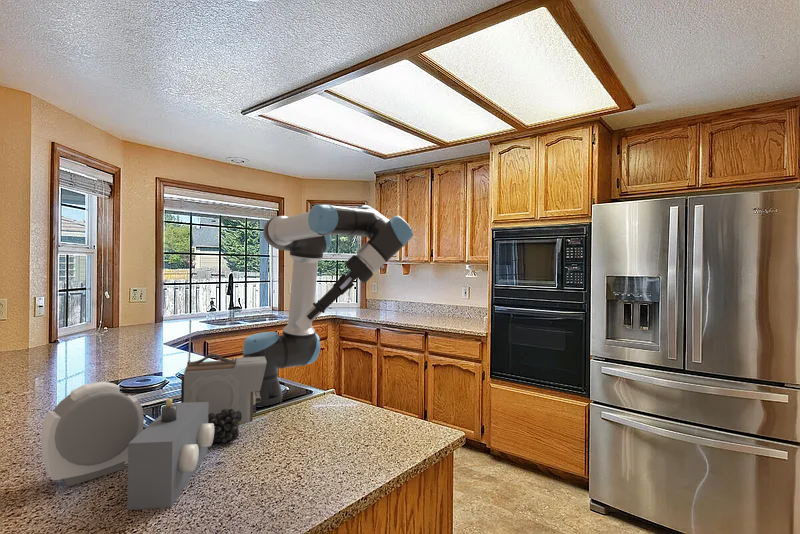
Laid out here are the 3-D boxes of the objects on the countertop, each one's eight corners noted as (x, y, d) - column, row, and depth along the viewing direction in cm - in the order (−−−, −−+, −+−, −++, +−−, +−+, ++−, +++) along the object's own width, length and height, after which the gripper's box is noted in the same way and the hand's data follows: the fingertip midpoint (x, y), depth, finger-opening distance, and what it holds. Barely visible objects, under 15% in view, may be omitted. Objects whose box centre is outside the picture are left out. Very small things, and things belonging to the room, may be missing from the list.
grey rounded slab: (132, 454, 106) (133, 373, 106) (145, 465, 100) (146, 380, 100) (38, 482, 92) (40, 389, 92) (48, 496, 86) (50, 397, 86)
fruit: (180, 412, 110) (242, 407, 114) (188, 412, 118) (245, 407, 122) (178, 448, 108) (241, 442, 111) (185, 445, 115) (244, 439, 119)
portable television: (265, 421, 130) (267, 323, 129) (178, 431, 121) (180, 325, 121) (263, 408, 141) (264, 318, 140) (182, 416, 132) (184, 320, 132)
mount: (173, 454, 106) (174, 402, 106) (207, 453, 107) (208, 401, 107) (127, 510, 82) (128, 443, 82) (171, 507, 84) (172, 441, 83)
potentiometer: (164, 417, 96) (164, 397, 96) (178, 417, 96) (178, 397, 96) (158, 422, 93) (159, 401, 93) (173, 422, 93) (173, 401, 93)
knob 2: (182, 442, 103) (182, 420, 103) (214, 441, 104) (214, 419, 104) (174, 451, 98) (174, 429, 98) (207, 450, 99) (208, 428, 99)
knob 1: (162, 465, 91) (162, 441, 91) (198, 463, 92) (198, 440, 92) (151, 477, 86) (152, 452, 86) (190, 475, 87) (190, 450, 87)
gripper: (376, 274, 107) (307, 341, 104) (372, 273, 120) (310, 332, 117) (356, 253, 106) (286, 319, 103) (353, 254, 119) (291, 313, 116)
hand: (299, 326), depth 110 cm, fingers closed
